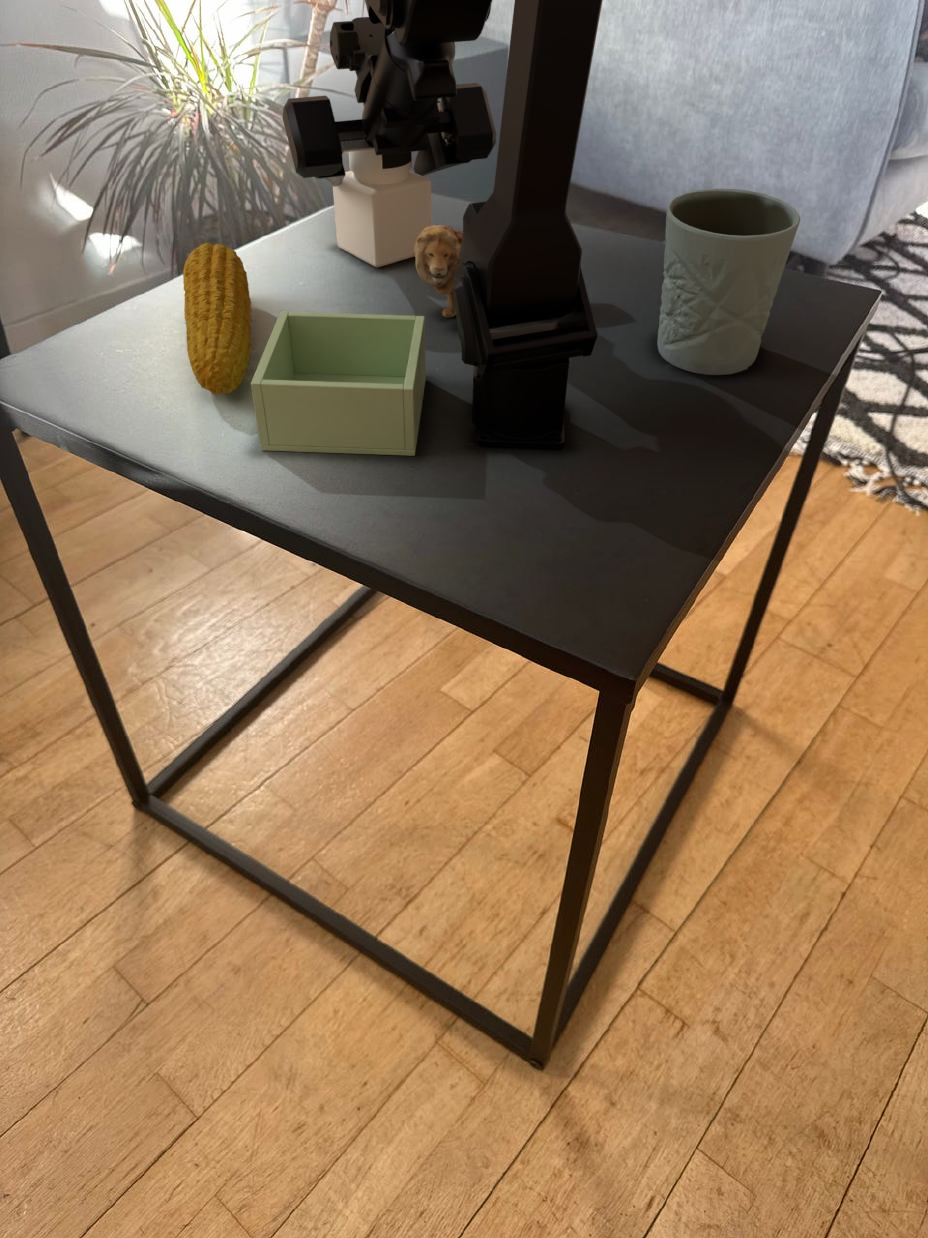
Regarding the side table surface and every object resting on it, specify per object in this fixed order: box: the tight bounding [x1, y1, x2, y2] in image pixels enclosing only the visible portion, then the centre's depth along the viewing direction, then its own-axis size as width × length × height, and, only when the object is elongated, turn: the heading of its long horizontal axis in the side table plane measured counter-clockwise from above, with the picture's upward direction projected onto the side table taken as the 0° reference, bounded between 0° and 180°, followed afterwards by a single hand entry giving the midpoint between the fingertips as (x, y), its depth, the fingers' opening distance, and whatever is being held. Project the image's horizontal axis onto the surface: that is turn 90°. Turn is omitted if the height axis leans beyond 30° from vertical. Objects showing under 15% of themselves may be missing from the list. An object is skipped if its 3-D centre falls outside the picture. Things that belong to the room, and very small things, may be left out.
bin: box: [250, 310, 427, 457], centre depth 72 cm, size 11×11×6 cm
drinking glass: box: [657, 188, 801, 376], centre depth 78 cm, size 10×10×12 cm
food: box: [182, 241, 253, 396], centre depth 79 cm, size 21×6×6 cm, turn 13°
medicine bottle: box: [332, 140, 433, 269], centre depth 93 cm, size 7×7×12 cm
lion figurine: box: [414, 224, 463, 319], centre depth 83 cm, size 15×5×9 cm, turn 116°
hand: (375, 176), depth 93 cm, fingers closed on medicine bottle, 8 cm apart
